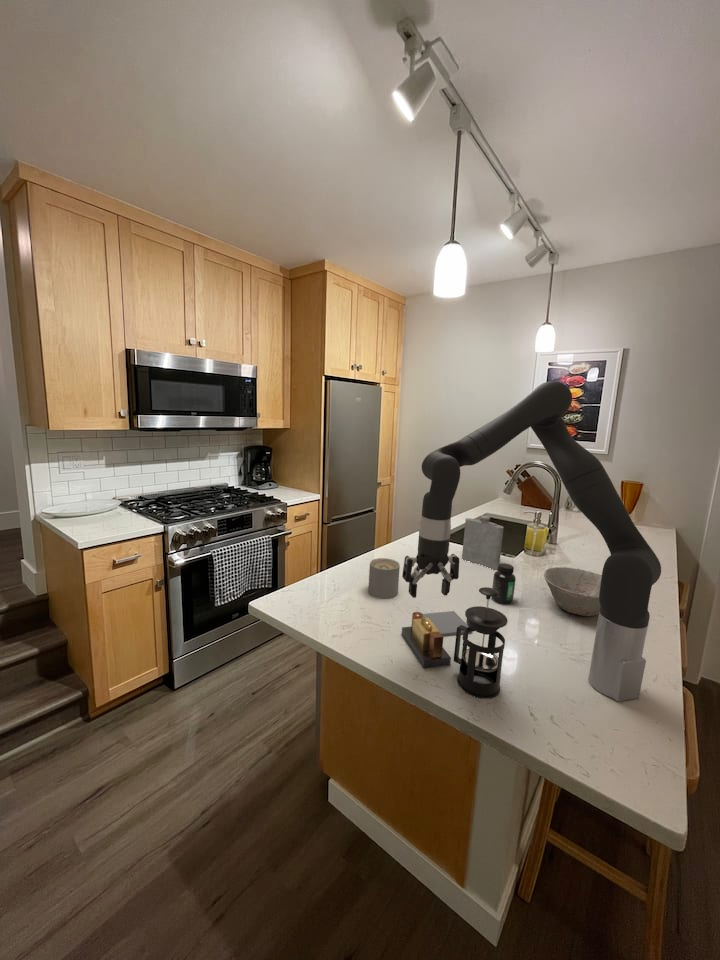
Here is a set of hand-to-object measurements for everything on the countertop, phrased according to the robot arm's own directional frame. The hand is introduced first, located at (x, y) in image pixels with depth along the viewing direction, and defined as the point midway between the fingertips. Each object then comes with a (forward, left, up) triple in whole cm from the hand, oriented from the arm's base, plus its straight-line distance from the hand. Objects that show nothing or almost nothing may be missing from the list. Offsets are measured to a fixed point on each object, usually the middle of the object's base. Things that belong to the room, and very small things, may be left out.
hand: (428, 595), depth 103 cm
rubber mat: (+10, -11, -15) cm, 21 cm away
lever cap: (0, 0, -13) cm, 13 cm away
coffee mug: (+34, -1, -15) cm, 37 cm away
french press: (-15, -6, -15) cm, 22 cm away
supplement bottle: (+21, -37, -15) cm, 45 cm away
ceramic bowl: (+11, -58, -15) cm, 61 cm away
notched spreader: (+51, -47, -15) cm, 71 cm away
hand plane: (0, 0, -15) cm, 15 cm away
